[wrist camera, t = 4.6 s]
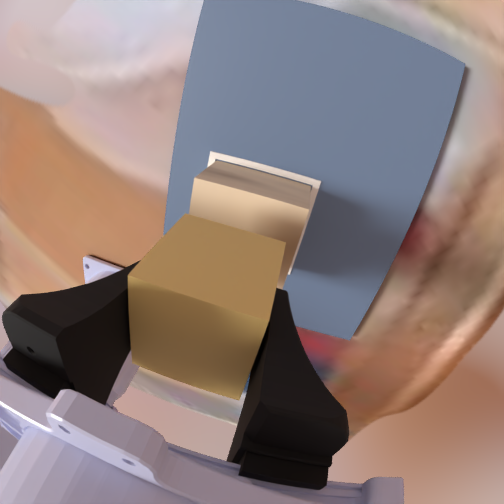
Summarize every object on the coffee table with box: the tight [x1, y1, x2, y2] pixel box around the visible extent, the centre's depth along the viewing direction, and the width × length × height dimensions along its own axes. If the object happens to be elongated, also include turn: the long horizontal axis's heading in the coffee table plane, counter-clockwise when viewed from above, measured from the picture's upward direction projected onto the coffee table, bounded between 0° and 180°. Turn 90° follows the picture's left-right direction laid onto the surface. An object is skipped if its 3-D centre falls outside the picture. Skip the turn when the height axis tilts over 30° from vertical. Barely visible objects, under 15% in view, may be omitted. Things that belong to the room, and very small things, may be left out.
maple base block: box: [189, 160, 311, 289], centre depth 19 cm, size 6×6×4 cm
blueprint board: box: [163, 0, 465, 340], centre depth 19 cm, size 22×16×1 cm
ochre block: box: [128, 213, 286, 400], centre depth 12 cm, size 4×4×5 cm
